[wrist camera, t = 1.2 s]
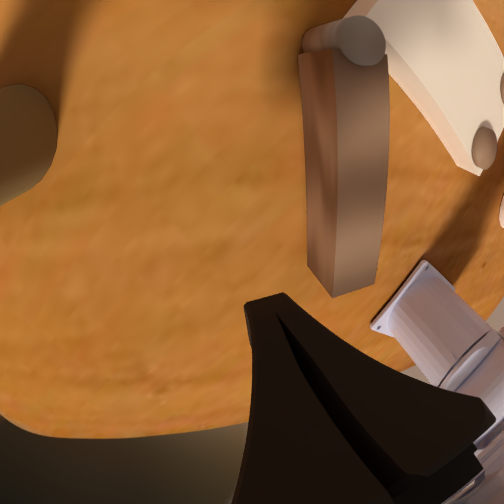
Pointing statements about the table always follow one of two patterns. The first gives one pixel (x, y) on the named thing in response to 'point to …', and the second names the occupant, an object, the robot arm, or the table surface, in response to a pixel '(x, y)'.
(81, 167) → the table surface
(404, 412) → the robot arm
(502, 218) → the white cup
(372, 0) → the stool seat
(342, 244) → the folding leg
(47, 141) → the cork
